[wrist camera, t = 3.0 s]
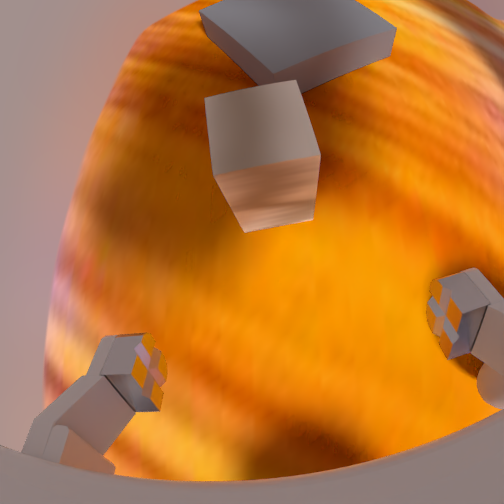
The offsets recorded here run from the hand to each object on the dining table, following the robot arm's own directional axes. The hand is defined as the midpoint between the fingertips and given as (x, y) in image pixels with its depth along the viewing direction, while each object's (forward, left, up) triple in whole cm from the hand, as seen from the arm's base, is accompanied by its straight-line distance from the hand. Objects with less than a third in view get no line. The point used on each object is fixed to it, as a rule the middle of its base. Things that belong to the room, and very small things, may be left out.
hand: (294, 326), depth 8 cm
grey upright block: (-4, -9, -13) cm, 16 cm away
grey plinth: (-16, -23, -13) cm, 31 cm away
